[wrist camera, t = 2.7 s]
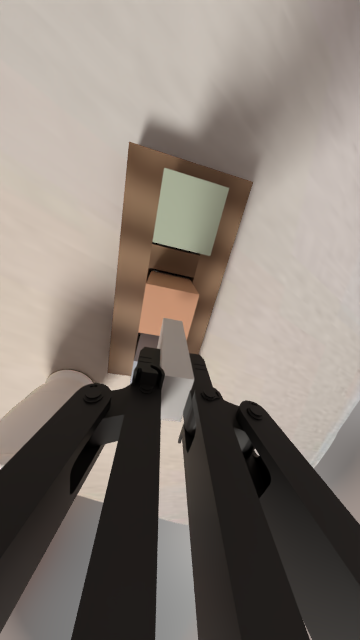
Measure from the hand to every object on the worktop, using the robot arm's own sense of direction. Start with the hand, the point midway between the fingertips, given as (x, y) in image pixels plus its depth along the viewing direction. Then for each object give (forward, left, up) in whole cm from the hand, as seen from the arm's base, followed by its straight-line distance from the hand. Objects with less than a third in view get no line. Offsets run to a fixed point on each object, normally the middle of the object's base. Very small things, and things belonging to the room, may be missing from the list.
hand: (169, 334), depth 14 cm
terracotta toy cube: (0, 0, -11) cm, 11 cm away
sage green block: (-9, 0, -11) cm, 14 cm away
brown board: (0, 0, -13) cm, 13 cm away
